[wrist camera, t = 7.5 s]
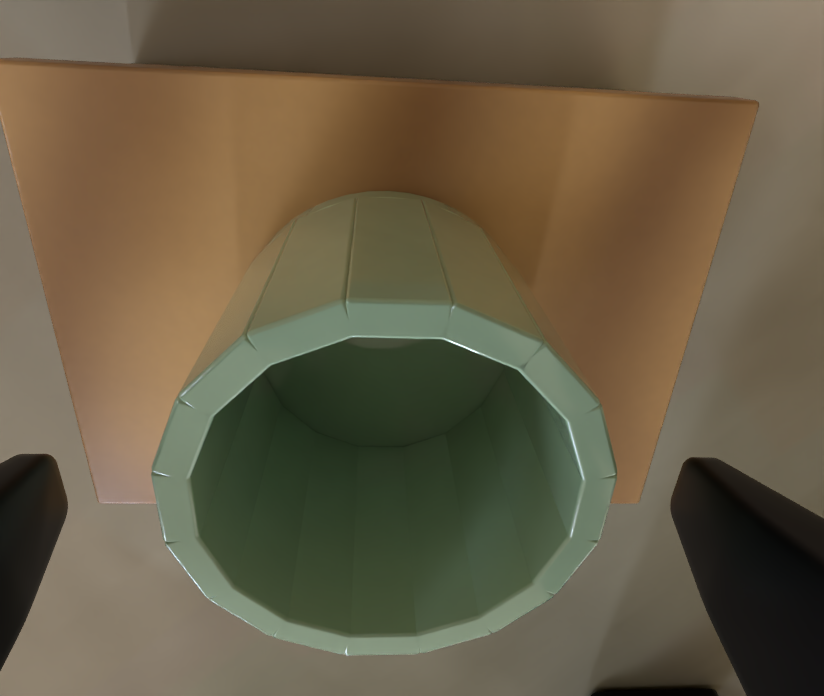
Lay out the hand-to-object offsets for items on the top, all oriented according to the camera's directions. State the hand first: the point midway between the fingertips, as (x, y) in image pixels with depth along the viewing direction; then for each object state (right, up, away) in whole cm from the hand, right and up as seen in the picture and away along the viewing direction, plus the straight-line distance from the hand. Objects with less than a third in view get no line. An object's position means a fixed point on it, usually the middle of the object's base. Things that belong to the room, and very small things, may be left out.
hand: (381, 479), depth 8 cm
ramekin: (0, +2, +4) cm, 5 cm away
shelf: (0, +5, +9) cm, 10 cm away
